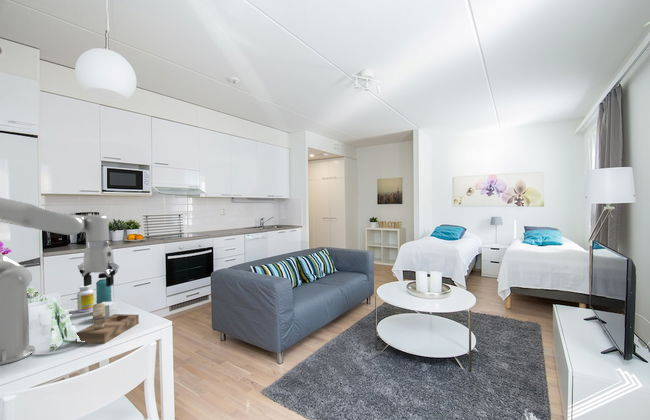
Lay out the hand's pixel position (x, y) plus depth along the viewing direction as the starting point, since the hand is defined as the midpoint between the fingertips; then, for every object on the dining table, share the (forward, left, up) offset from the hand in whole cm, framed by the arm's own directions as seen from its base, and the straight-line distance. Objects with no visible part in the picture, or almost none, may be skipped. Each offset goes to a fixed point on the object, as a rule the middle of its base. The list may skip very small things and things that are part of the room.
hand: (98, 285), depth 125 cm
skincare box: (+20, +14, -22) cm, 33 cm away
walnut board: (+5, 0, -22) cm, 23 cm away
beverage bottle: (+28, +22, -22) cm, 42 cm away
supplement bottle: (+29, +33, -22) cm, 49 cm away
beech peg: (0, 0, -18) cm, 18 cm away
